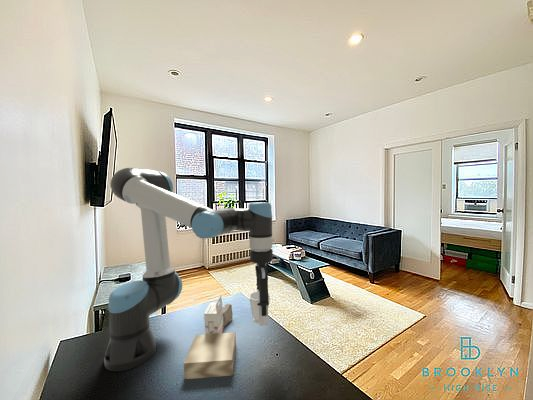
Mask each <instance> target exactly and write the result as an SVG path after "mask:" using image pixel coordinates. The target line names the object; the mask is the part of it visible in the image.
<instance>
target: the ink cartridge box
mask: <svg viewBox="0 0 533 400" xmlns="http://www.w3.org/2000/svg"><path fill="white" fill-rule="evenodd" d="M222 308H223V299H222V295H219V298H218V299H217V301H216V302H215V301H213V302H209V304H208V306H207V307H206V309H205V311H204V313H203V316H204V317H203V318H204V333H205V334H219V333H224V328H223V310H222Z"/></svg>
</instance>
